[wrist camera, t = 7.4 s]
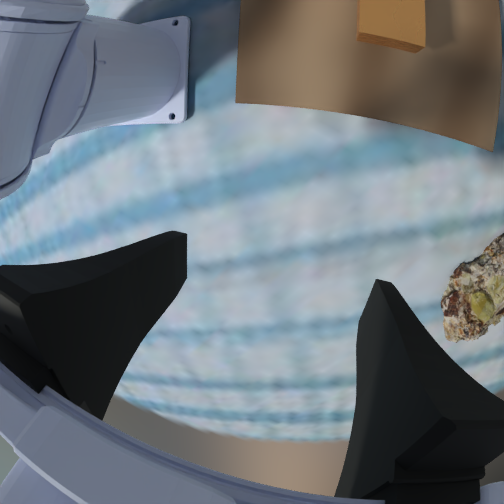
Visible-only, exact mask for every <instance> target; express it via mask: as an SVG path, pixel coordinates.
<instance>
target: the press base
mask: <svg viewBox="0 0 504 504" xmlns="http://www.w3.org/2000/svg"><path fill="white" fill-rule="evenodd" d="M425 28H426V38H425V48H423V49H422V50H420V51H419V52H417V53H416V54H415V53H411V52H407V51H403V50H399V49H395V48H391V47H386V46H381V45H376V44H371V43H366V42H360V41H356V37H357V0H241V5H240V22H239V39H238V58H237V78H236V101H235V103H247V104H265V105H278V106H290V107H300V108H309V109H317V110H324V111H331V112H338V113H345V114H351V115H356V116H362V117H367V118H373V119H378V120H383V121H387V122H392V123H396V124H401V125H405V126H409V127H413V128H417V129H421V130H425V131H428V132H432V133H436V134H439V135H443V136H446V137H449V138H453V139H456V140H459V141H462V142H465V143H468V144H471V145H474V146H477V147H480V148H483V149H485V150H488V151H491V152H493V148H494V142H495V135H496V129H497V121H498V113H499V104H500V92H501V73H502V37H501V20H500V8H499V0H425Z"/></svg>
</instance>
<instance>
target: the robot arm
mask: <svg viewBox="0 0 504 504" xmlns="http://www.w3.org/2000/svg"><path fill="white" fill-rule="evenodd" d="M88 10H89V6H88V4H87V3H86V1H85V0H0V199H2V198H4V197H6V196H8V195H10V194H12V193H13V192H15V191H16V190H17V189H18V188H19V187H20V186H21V185H22V184H23V183H24V182H25V180H26V179H27V177H28V175H29V173H30V169H31V165H32V159H35V158H38V157H40V156H43V155H46V154H48V153H49V152H50V150H51V147H52V145H53V144H54V143H55V141H57V140H58V139H61V138H64V137H68V136H71V135H74V134H78V133H82V132H85V131H89V130H93V129H97V128H101V127H105V126H115V125H132V124H160V123H182V122H184V121H185V120H186V119H187V89H188V59H189V39H190V23H191V22H190V19H189V18H188V17H186V16H178V17H172V18H166V19H161V20H155V21H151V22H146V23H141V24H135V23H130V22H126V21H121V20H116V19H110V18H105V17H99V16H93V15H86V14H87V12H88ZM176 21H178V22H179V23H178V25H177V26H175V25H174V24H175V22H176ZM172 113H174V114H175V119H172V117H171V115H172ZM186 279H187V234H186V233H181V232H177V231H169V232H165V233H162V234H159V235H156V236H153V237H150V238H147V239H144V240H141V241H139V242H136V243H133V244H130V245H127V246H124V247H121V248H118V249H115V250H112V251H109V252H105V253H102V254H98V255H95V256H90V257H86V258H82V259H77V260H71V261H65V262H59V263H51V264H39V265H1V266H0V435H1V436H2V437H3V438H4V439H5V440H6V441H7V442H8V443H9V444H10V445H11V446H12V447H13V449H14V452H15V453H16V454H17V455H18V456H19V457H20V458H19V459H18V461H17V462H16V464H15V465H14V466H13V468H12V469H11V471H10V472H9V473H8V475H7V476H6V478H5V479H4V481H3V482H2V484H1V485H0V504H504V481H501V482H496V483H491V484H487V485H485V486H482V487H480V483H479V479H482V478H483V477H484V476H485V468H484V466H485V465H487V464H488V463H490V462H491V461H492V460H494V459H495V458H496V457H498V456H499V455H500V454H502V453H503V452H504V401H503V400H501V399H500V398H498V397H497V396H495V395H494V394H492V393H491V392H489V391H488V390H487V389H486V388H484V387H483V386H482V385H480V384H479V383H478V382H477V381H475V380H474V379H473V378H472V377H471V376H470V375H468V374H467V373H466V372H465V371H464V370H463V369H462V368H461V367H460V366H459V365H458V364H456V363H455V362H454V361H453V360H452V359H451V358H450V357H449V355H448V354H447V353H446V352H445V351H444V350H443V349H442V348H441V347H440V346H439V345H438V343H437V342H436V341H435V340H434V339H433V337H432V336H431V335H430V334H429V332H428V331H427V330H426V329H425V327H424V326H423V325H422V323H421V322H420V321H419V319H418V318H417V317H416V315H415V314H414V313H413V311H412V310H411V308H410V307H409V306H408V304H407V303H406V301H405V300H404V298H403V297H402V296H401V294H400V293H399V291H398V290H397V289H396V287H395V286H394V285H393V284H392V283H391V282H387V281H383V280H379V279H376V280H375V283H374V286H373V288H372V291H371V293H370V296H369V298H368V301H367V303H366V306H365V308H364V310H363V313H362V315H361V317H360V320H359V324H358V333H357V343H356V366H357V386H356V406H355V413H354V419H353V425H352V431H351V436H350V441H349V446H348V450H347V454H346V459H345V462H344V466H343V470H342V473H341V477H340V480H339V483H338V486H337V489H336V493H335V496H334V497H331V496H323V495H316V494H309V493H302V492H297V491H292V490H287V489H281V488H277V487H272V486H268V485H264V484H260V483H256V482H251V481H248V480H244V479H241V478H237V477H234V476H230V475H227V474H224V473H220V472H218V471H214V470H211V469H208V468H206V467H203V466H200V465H197V464H194V463H192V462H189V461H186V460H184V459H181V458H179V457H176V456H173V455H171V454H169V453H166V452H164V451H162V450H160V449H157V448H155V447H153V446H151V445H148V444H146V443H144V442H142V441H140V440H138V439H136V438H134V437H132V436H130V435H128V434H126V433H124V432H122V431H120V430H118V429H116V428H114V427H112V426H111V425H109V424H107V423H105V422H103V421H102V420H103V418H104V415H105V412H106V410H107V407H108V405H109V403H110V400H111V398H112V396H113V394H114V392H115V389H116V387H117V385H118V383H119V381H120V379H121V377H122V375H123V373H124V371H125V370H126V368H127V366H128V364H129V362H130V360H131V359H132V357H133V355H134V353H135V352H136V350H137V348H138V347H139V345H140V343H141V342H142V340H143V339H144V338H145V336H146V335H147V333H148V332H149V331H150V330H151V328H152V327H153V326H154V324H155V323H156V322H157V321H158V319H159V318H160V317H161V316H162V314H163V313H164V312H165V311H166V309H167V308H168V307H169V305H170V304H171V303H172V302H173V300H174V299H175V298H176V296H177V294H178V293H179V291H180V289H181V288H182V286H183V284H184V282H185V280H186Z"/></svg>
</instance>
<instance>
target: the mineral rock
mask: <svg viewBox="0 0 504 504" xmlns="http://www.w3.org/2000/svg"><path fill="white" fill-rule="evenodd" d="M441 308H442V310H443V313H444V321H443V325H444V330H445V336H446V339H447V340H448V341H453V342H456V343H457V342H458V341H460V340H465V341H469V340H475V339H478V338H479V337H480V336H482V335H484V334H485V333H486V332H488V330H487V329H488V326H489V325H491V324H494V326H495V325H496V324H498V323H499V322H500V319H501V318H502V317H503V316H504V234H502V235H500V236H499V237H497V238H496V239H494V240H493V242H492V243H491V244H490V245H489V246H488V247H486V249H485V250H484V252H483V254H482V255H481V256H479V257H478V259H477V260H475V261H474V262H472V263H469V264H465V263H462V264H461V265H460V266H459V267H458V268H457V269H456V270H455V271H454V274H453V275H451V277H450V281H449V284H448V287H447V290H446V291H445V292H444V294H443V296H442V301H441Z"/></svg>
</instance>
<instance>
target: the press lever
mask: <svg viewBox="0 0 504 504" xmlns="http://www.w3.org/2000/svg"><path fill="white" fill-rule="evenodd" d="M425 38H426V28H425V0H357V37H356V41H360V42H366V43H371V44H376V45H381V46H386V47H391V48H395V49H399V50H403V51H407V52H411V53H415V54H416V53H417V52H419V51H420V50H422V49H423V48H425Z"/></svg>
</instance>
